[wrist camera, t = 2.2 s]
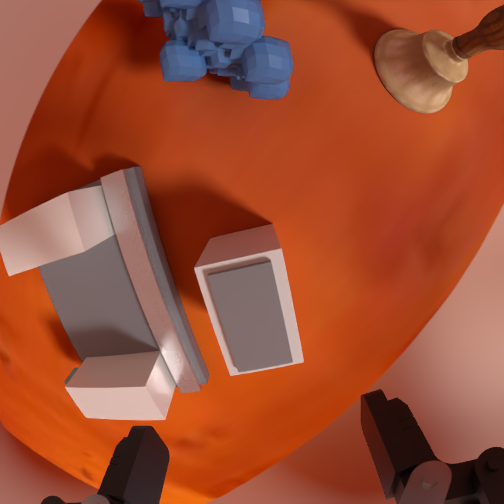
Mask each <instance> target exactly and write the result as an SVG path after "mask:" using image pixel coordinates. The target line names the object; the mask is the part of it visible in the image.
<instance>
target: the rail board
mask: <svg viewBox="0 0 504 504" xmlns="http://www.w3.org/2000/svg"><path fill="white" fill-rule="evenodd" d="M0 252H1V255H2V258H3V261H4V264H5V267H6V270H7V272H8V275H9V276H11V275H14V274H17V273H20V272H23V271H26V270H29V269H32V268H35V267H39V270H40V273H41V276H42V278H43V281H44V283H45V286H46V288H47V291H48V293H49V296H50V298H51V300H52V303H53V305H54V307H55V310H56V312H57V314H58V316H59V318H60V320H61V323H62V325H63V327H64V329H65V331H66V333H67V335H68V337H69V339H70V341H71V343H72V345H73V347H74V348H75V350H76V352H77V354H78V356H79V358H80V359H81V361H82V364H81V365H80V367H79V368H74V369H73V371H72V372H71V374H70V375H69V376H68V378H67V379H66V380H65V384H66V386H65V388H66V390H67V391H68V393H69V394H70V396H71V397H72V399H73V400H74V402H75V403H76V405H77V406H78V407H79V409H80V410H81V411H82V413H83V414H84V416H85V417H86V418H99V419H117V420H165V419H166V415H167V412H168V409H169V406H170V402H171V399H172V396H173V393H174V389H175V387H178V388H179V390H180V392H181V393H186V392H196V391H201V388H202V384H207V383H208V377H209V372H208V370H207V367H206V365H205V362H204V360H203V357H202V355H201V352H200V350H199V347H198V345H197V342H196V340H195V337H194V335H193V332H192V329H191V327H190V324H189V321H188V319H187V316H186V313H185V310H184V308H183V305H182V302H181V299H180V296H179V293H178V291H177V288H176V285H175V282H174V279H173V276H172V273H171V270H170V267H169V264H168V261H167V257H166V254H165V251H164V248H163V245H162V241H161V238H160V235H159V232H158V228H157V225H156V221H155V218H154V214H153V211H152V207H151V204H150V200H149V196H148V192H147V189H146V185H145V181H144V177H143V173H142V169H141V166H139V167H132V168H129V169H122V170H119V171H116V172H114V173H111V174H109V175H106V176H103V177H101V178H100V180H97V181H95V182H92V183H90V184H87V185H85V186H83V187H80V188H78V189H76V190H73V191H70V192H67V193H64V194H62V195H60V196H58V197H56V198H53V199H51V200H49V201H47V202H45V203H43V204H41V205H39V206H37V207H35V208H33V209H31V210H29V211H27V212H25V213H23V214H21V215H19V216H17V217H15V218H13V219H12V220H10V221H8V222H6V223H4V224H2V225H1V226H0Z"/></svg>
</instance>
